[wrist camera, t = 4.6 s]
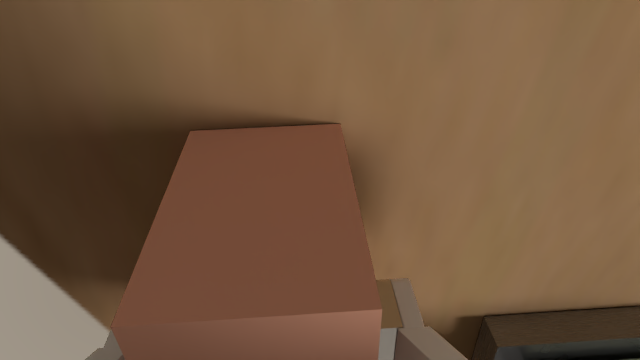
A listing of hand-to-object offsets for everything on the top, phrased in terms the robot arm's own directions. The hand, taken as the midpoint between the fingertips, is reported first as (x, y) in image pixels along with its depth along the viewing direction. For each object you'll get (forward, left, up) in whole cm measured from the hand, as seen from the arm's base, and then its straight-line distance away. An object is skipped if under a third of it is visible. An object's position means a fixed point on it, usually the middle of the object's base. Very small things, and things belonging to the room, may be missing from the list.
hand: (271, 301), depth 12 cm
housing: (0, 0, -4) cm, 4 cm away
